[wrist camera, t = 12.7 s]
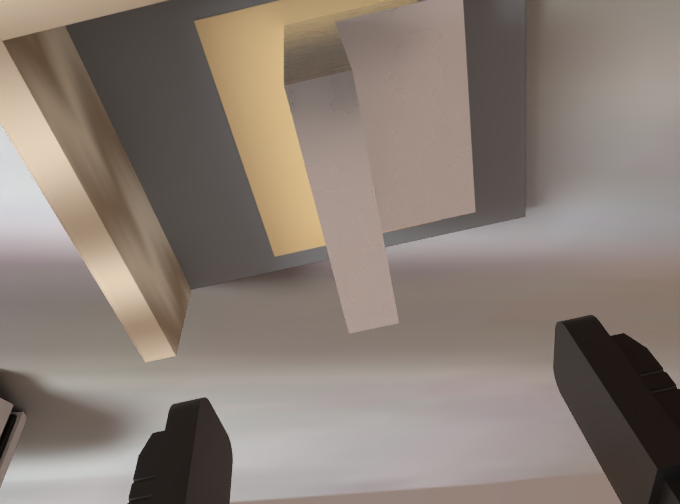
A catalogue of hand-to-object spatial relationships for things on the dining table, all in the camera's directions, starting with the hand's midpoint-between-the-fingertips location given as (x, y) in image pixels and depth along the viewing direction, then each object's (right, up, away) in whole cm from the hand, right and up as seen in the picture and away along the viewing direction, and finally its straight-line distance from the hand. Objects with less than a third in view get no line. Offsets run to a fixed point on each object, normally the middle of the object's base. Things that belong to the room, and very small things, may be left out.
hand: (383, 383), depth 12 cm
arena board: (-3, +10, +13) cm, 16 cm away
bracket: (+1, +9, +12) cm, 15 cm away
